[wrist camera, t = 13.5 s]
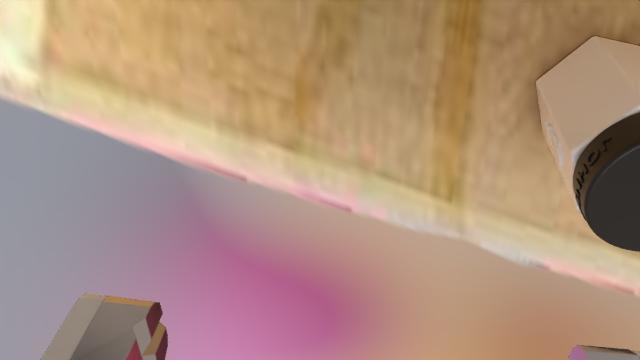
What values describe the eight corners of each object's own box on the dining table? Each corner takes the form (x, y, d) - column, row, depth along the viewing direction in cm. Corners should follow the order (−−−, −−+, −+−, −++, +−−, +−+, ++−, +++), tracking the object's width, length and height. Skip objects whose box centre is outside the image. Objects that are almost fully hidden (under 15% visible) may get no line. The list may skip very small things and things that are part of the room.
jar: (527, 52, 36) (576, 146, 27) (660, 16, 34) (766, 105, 24) (542, 157, 41) (589, 269, 32) (660, 132, 39) (748, 245, 29)
